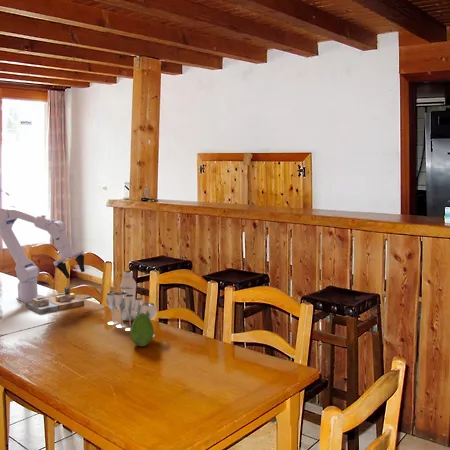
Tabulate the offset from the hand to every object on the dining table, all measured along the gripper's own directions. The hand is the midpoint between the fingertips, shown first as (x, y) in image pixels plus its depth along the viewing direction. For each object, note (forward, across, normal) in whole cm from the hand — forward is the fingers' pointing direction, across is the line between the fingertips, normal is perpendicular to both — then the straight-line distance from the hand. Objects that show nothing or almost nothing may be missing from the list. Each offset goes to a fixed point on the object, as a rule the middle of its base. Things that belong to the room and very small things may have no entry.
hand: (76, 274), depth 246 cm
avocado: (+31, -15, -59) cm, 68 cm away
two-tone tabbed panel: (+9, -12, +6) cm, 16 cm away
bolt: (+8, -6, +6) cm, 12 cm away
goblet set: (+27, -7, -42) cm, 50 cm away
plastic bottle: (+25, -1, -32) cm, 40 cm away
